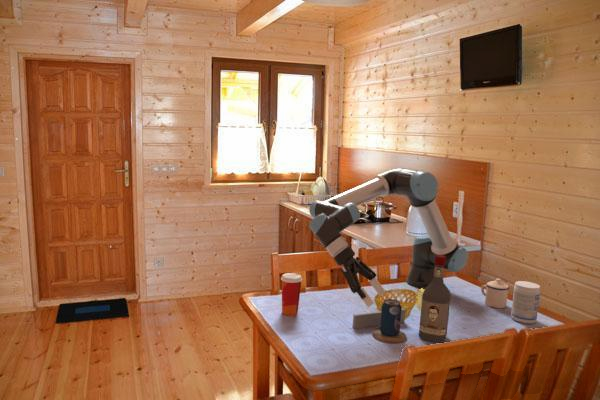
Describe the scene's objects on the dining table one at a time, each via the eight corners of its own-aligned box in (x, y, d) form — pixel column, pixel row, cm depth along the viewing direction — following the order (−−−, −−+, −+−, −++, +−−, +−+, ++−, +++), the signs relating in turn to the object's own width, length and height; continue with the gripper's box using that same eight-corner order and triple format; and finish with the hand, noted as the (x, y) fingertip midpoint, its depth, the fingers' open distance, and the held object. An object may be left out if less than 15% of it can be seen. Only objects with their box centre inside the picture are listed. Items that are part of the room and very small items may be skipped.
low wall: (352, 327, 193) (353, 314, 192) (402, 321, 202) (403, 308, 201) (354, 328, 192) (355, 315, 191) (404, 322, 200) (405, 309, 200)
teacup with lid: (511, 306, 224) (514, 280, 223) (498, 310, 219) (501, 283, 217) (486, 298, 234) (489, 272, 232) (474, 301, 229) (477, 275, 227)
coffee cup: (288, 307, 209) (290, 271, 207) (304, 313, 204) (306, 276, 202) (274, 312, 203) (276, 275, 200) (290, 318, 198) (292, 280, 195)
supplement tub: (538, 326, 204) (543, 289, 202) (512, 322, 206) (516, 286, 204) (533, 317, 213) (538, 282, 211) (509, 313, 216) (513, 279, 213)
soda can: (399, 339, 183) (402, 306, 181) (379, 336, 184) (381, 304, 182) (399, 331, 190) (402, 299, 188) (380, 329, 191) (382, 297, 189)
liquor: (421, 330, 194) (429, 251, 189) (447, 335, 190) (455, 254, 186) (417, 339, 185) (425, 257, 181) (444, 344, 182) (452, 261, 177)
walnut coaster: (365, 331, 190) (366, 329, 190) (393, 327, 195) (394, 326, 195) (383, 345, 179) (384, 343, 179) (413, 340, 184) (413, 339, 184)
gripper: (346, 250, 203) (380, 295, 199) (319, 265, 181) (357, 316, 177) (359, 239, 200) (395, 284, 196) (335, 253, 178) (374, 304, 174)
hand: (377, 299), depth 187 cm, fingers open, 13 cm apart
